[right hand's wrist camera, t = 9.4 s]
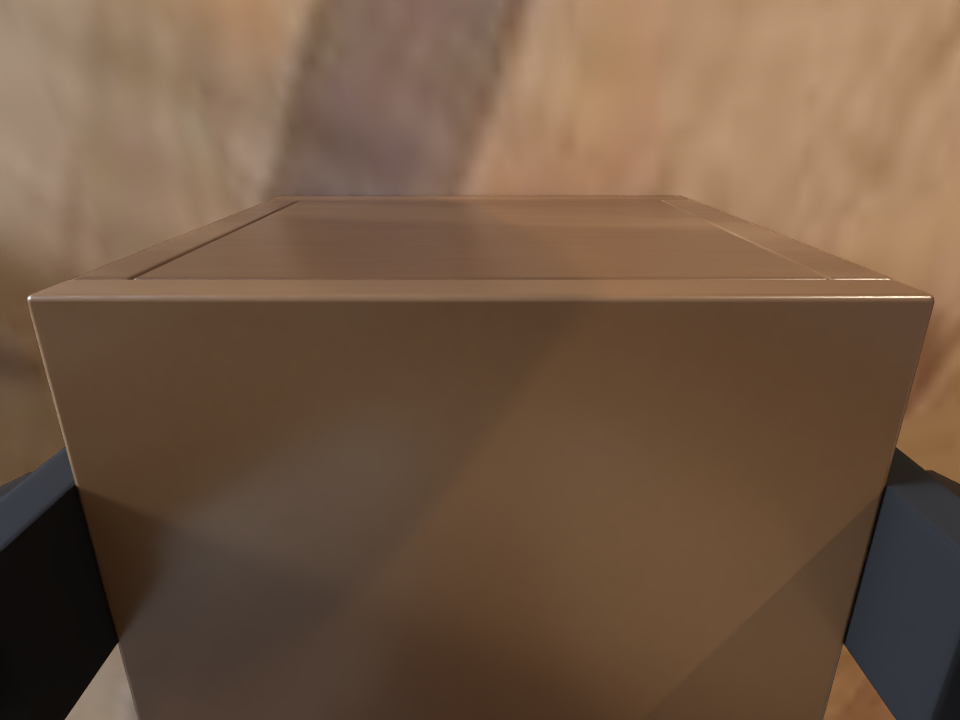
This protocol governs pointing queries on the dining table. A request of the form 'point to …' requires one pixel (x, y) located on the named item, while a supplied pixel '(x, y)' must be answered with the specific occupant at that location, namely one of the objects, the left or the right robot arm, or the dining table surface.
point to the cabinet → (480, 458)
